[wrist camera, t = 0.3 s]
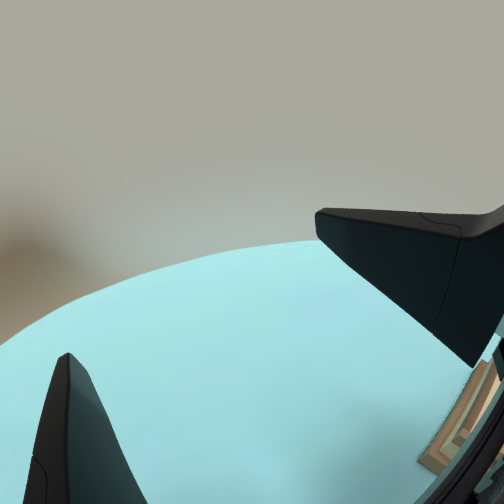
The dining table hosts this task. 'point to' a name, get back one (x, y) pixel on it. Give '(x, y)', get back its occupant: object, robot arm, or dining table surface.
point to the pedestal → (463, 419)
